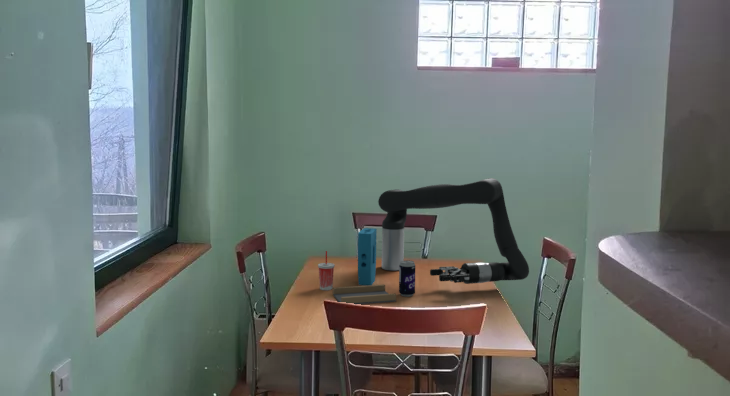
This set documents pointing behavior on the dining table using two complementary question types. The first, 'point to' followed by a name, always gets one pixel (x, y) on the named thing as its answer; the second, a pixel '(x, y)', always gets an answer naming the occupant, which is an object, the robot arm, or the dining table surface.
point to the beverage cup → (326, 275)
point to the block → (366, 256)
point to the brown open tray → (363, 294)
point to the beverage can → (407, 278)
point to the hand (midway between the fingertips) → (434, 275)
